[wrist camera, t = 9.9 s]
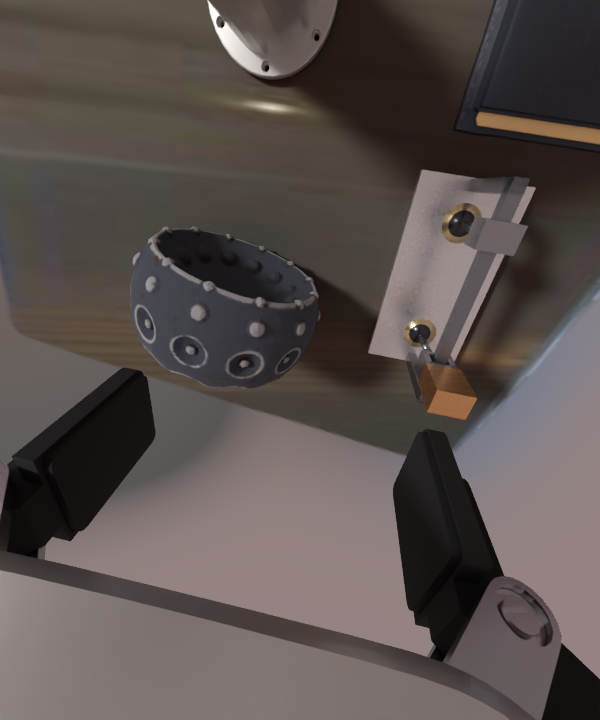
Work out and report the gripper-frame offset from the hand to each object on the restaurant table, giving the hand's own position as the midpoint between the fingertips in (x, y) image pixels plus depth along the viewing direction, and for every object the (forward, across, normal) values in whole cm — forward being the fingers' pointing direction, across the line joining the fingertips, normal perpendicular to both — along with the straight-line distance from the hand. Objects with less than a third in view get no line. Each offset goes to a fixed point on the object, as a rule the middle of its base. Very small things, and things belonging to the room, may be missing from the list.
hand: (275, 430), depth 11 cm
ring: (+34, +10, +6) cm, 36 cm away
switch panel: (+34, -14, +2) cm, 37 cm away
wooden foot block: (+31, -14, +9) cm, 35 cm away
